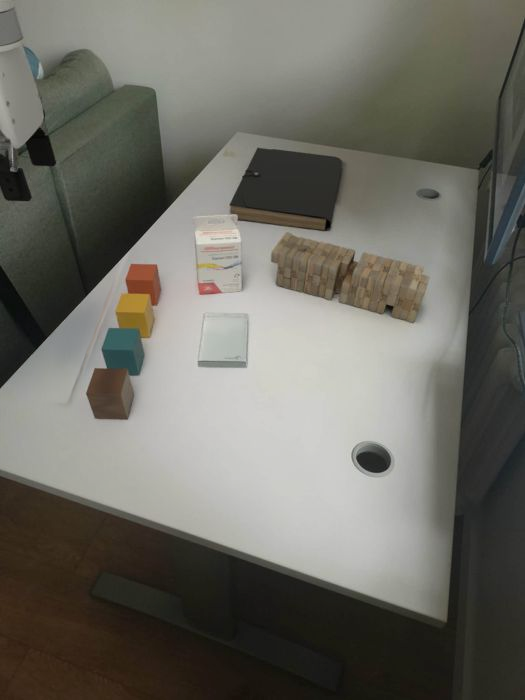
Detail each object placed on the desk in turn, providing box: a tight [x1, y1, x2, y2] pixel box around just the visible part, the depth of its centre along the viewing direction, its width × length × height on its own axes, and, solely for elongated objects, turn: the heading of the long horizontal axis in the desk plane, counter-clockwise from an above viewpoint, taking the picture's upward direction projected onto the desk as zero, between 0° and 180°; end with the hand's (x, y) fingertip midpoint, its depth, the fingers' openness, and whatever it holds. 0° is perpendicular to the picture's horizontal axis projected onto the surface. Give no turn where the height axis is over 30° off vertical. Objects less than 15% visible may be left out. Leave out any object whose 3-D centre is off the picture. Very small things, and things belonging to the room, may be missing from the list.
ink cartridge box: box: [193, 214, 243, 295], centre depth 94 cm, size 9×5×15 cm, turn 100°
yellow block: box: [114, 293, 155, 339], centre depth 87 cm, size 5×5×6 cm
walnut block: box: [85, 367, 135, 420], centre depth 75 cm, size 5×5×6 cm
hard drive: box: [197, 312, 249, 369], centre depth 87 cm, size 2×8×12 cm
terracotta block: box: [125, 263, 162, 306], centre depth 94 cm, size 5×5×6 cm
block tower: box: [270, 231, 430, 324], centre depth 96 cm, size 8×8×29 cm
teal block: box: [100, 327, 145, 376], centre depth 81 cm, size 5×5×6 cm
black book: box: [229, 147, 343, 232], centre depth 126 cm, size 33×4×24 cm
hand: (32, 181), depth 65 cm, fingers open, 9 cm apart
